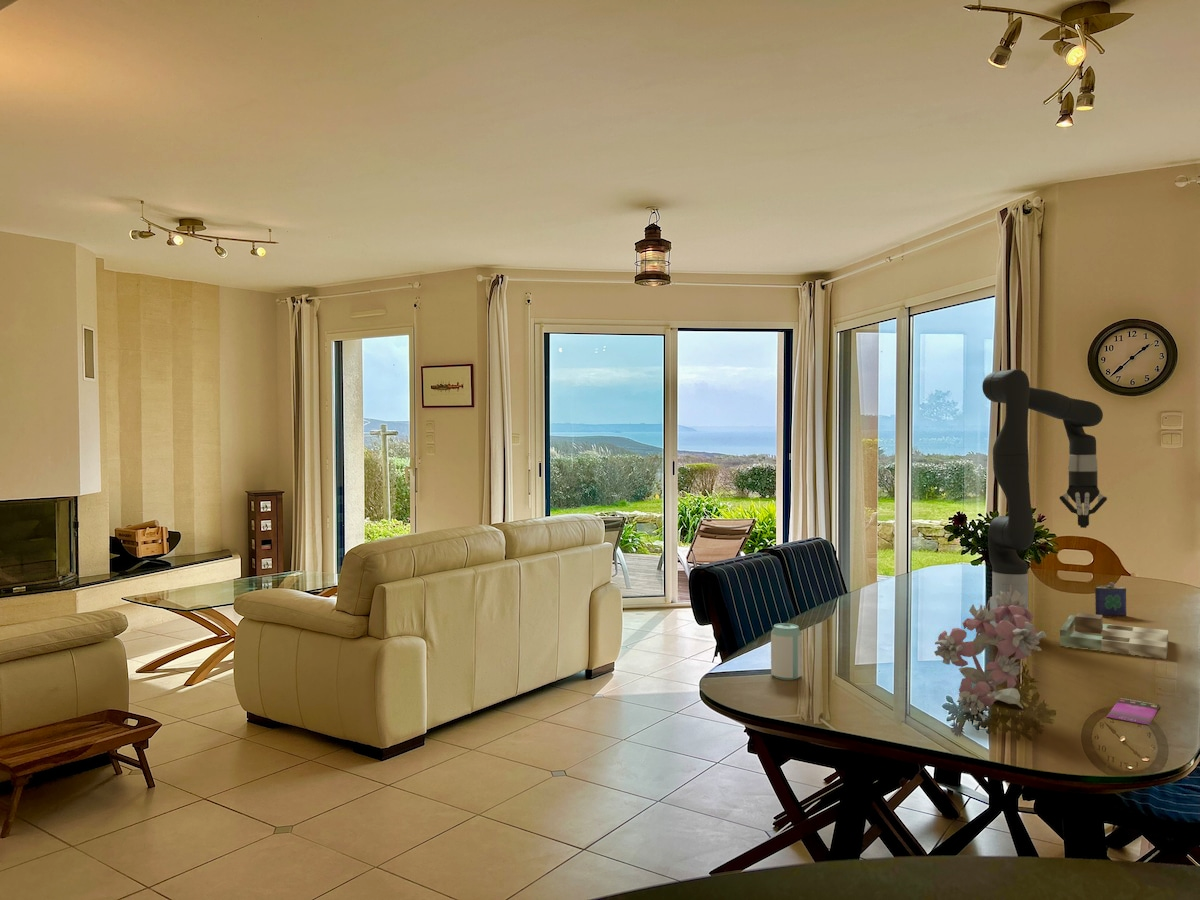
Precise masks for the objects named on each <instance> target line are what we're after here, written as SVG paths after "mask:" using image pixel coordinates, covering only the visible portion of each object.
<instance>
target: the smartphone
mask: <svg viewBox="0 0 1200 900" xmlns="http://www.w3.org/2000/svg"><path fill="white" fill-rule="evenodd" d="M1160 707H1161V706H1160V704H1158V703H1153V702H1149V701H1148V702H1147V701H1143V700H1138V699H1137V700H1136V699H1131V698H1125V697H1120V698H1119V699H1118V700H1117V702H1116V703H1115V704H1114V706H1113V707H1112V708H1111V710H1110V711H1109V712H1108V714H1107V715H1106V716H1105V717H1106V719H1111V720H1116V721H1122V722H1126V723H1131V724H1138V725H1144V726H1150V724H1151V723H1152V722H1153V720H1154V718H1155V716H1156V714H1157V713H1158V711H1159V709H1160Z"/></svg>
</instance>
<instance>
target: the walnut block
mask: <svg viewBox="0 0 1200 900" xmlns="http://www.w3.org/2000/svg"><path fill="white" fill-rule="evenodd" d="M1103 618H1104V617H1103V615H1096V613H1085V612H1077V613H1076V615H1075V631H1080V632H1089V633H1099V634H1101V632H1102V630H1103V624H1104V623H1103V622H1104V619H1103Z"/></svg>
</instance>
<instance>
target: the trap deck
mask: <svg viewBox="0 0 1200 900" xmlns="http://www.w3.org/2000/svg"><path fill="white" fill-rule="evenodd" d="M1075 616H1076V615H1074V614H1073V615H1072V614H1070V615H1069V616H1068V618H1067V619H1066V621H1065V622H1064V623H1063V625H1062V626H1061V628H1060V629H1059V646H1060V645H1062V646H1069V647H1076V648H1088V649H1097V650H1103V651H1109V652H1108V653H1110V652H1115V653H1114V654H1118V653H1123V654H1122V655H1126V654H1131V655H1130V656H1135V655H1139V656H1138V657H1143V656H1146V657H1145V658H1151V657H1155V658H1154V659H1160V658H1162V660H1167V658H1168V657H1167V655H1168V646H1169V630H1168V629H1159V628H1150V627H1140V626H1129V625H1120V624H1111V623H1103V630H1102V632H1101V634H1099V633H1089V632H1080V631H1075ZM1076 648H1075V649H1076Z"/></svg>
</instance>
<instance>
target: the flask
mask: <svg viewBox="0 0 1200 900" xmlns="http://www.w3.org/2000/svg"><path fill="white" fill-rule="evenodd" d="M1115 584H1116V583H1114V582H1111V581H1110V582H1109V584H1108V585H1100V586H1096V587H1095V588H1094V591H1095V593H1094V594H1095V596H1094V597H1095V598H1094V599H1095V602H1094V603H1095V614H1096V615H1103V616H1111V617H1110V618H1112V617H1113V618H1114V617H1115V616H1116V618H1117V616H1119V618H1124V617H1127V588H1126V587H1122V586H1118V587H1117V586H1115ZM1123 616H1124V617H1123Z"/></svg>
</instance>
